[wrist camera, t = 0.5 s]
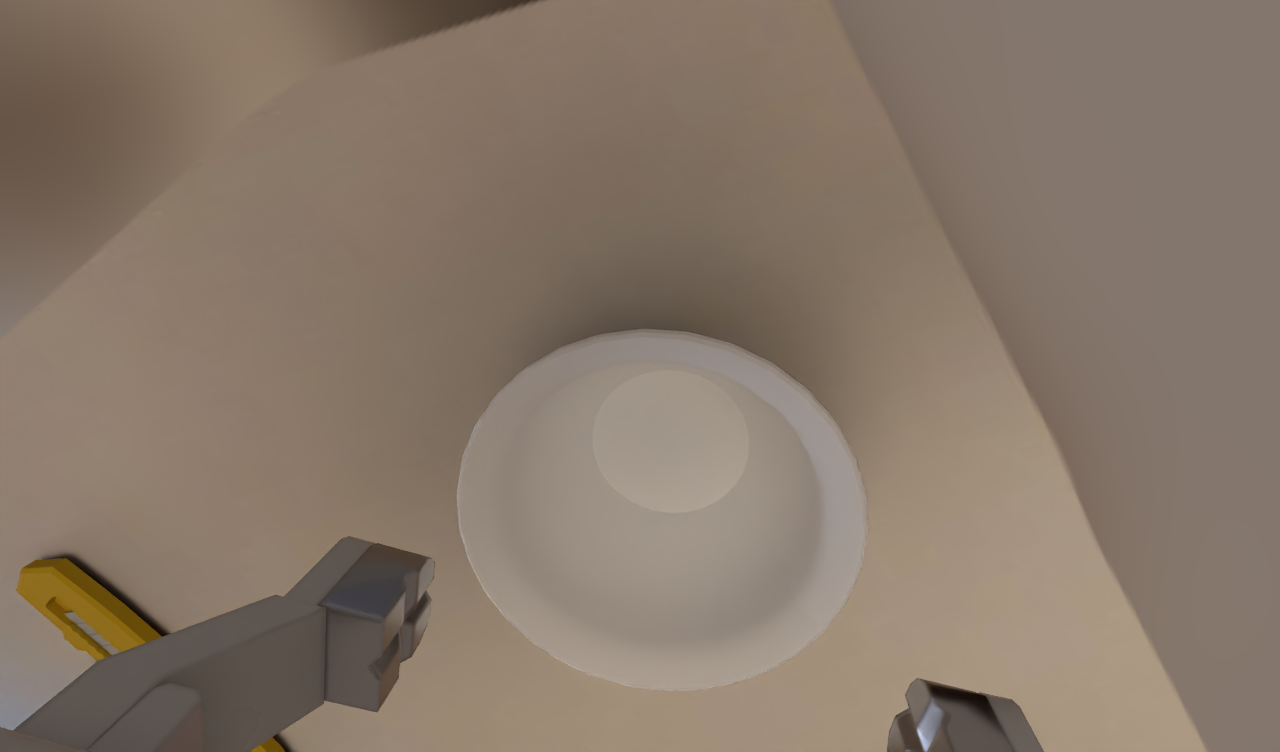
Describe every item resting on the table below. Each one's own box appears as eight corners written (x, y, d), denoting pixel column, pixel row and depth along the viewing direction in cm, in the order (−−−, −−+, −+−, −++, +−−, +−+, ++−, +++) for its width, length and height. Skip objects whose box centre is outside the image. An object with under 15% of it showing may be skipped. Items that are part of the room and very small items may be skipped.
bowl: (612, 218, 29) (570, 242, 21) (900, 394, 30) (965, 481, 22) (470, 475, 34) (395, 573, 26) (718, 616, 36) (718, 750, 28)
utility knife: (262, 803, 46) (243, 831, 44) (11, 587, 42) (-23, 607, 40) (321, 768, 44) (303, 795, 42) (63, 536, 39) (30, 555, 38)
